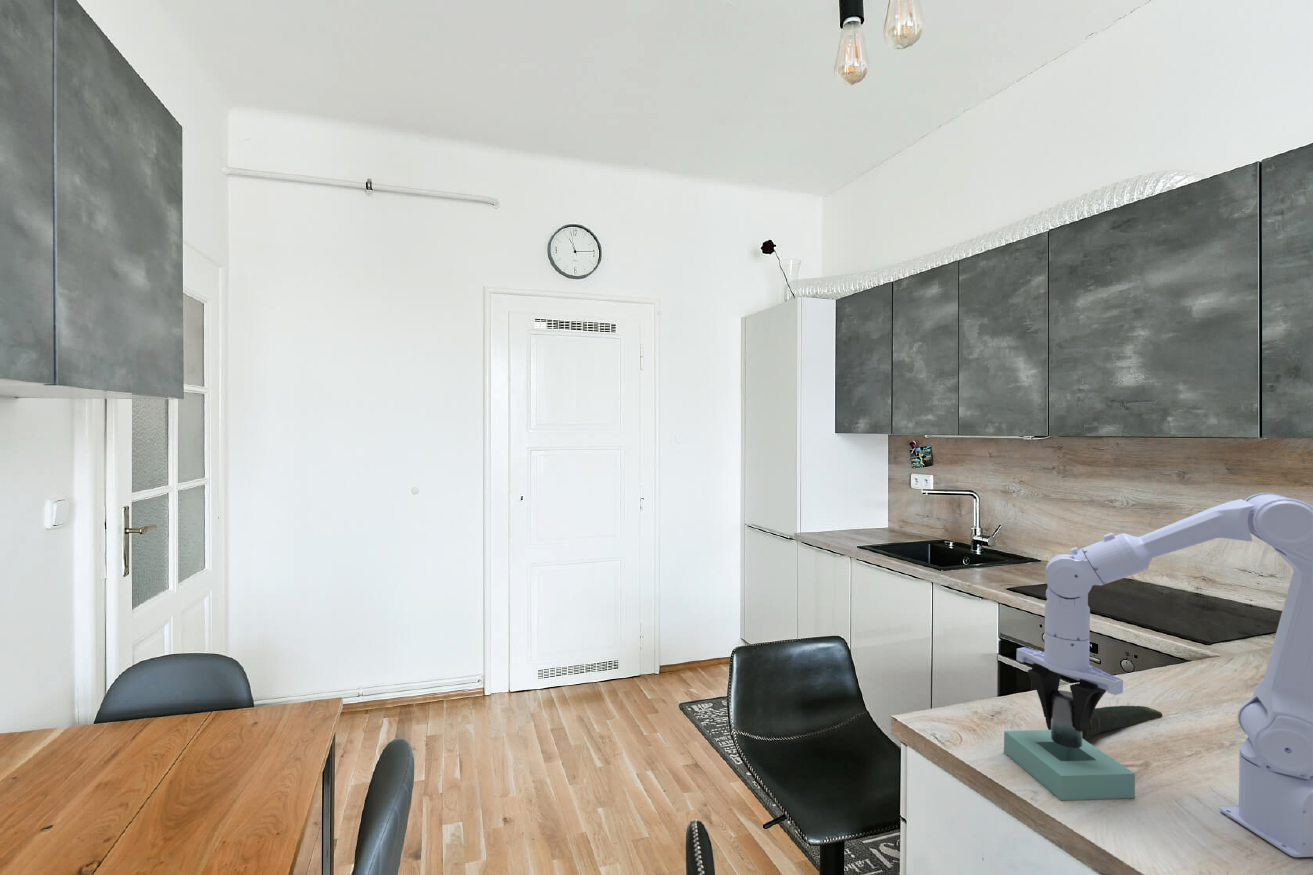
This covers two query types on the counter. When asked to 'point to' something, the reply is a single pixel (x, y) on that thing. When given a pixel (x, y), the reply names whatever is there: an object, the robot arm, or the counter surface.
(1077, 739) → the pin
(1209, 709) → the counter surface
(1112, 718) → the tool
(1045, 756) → the hole block
